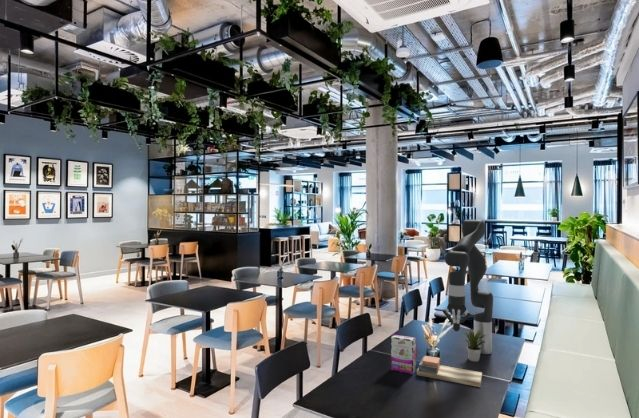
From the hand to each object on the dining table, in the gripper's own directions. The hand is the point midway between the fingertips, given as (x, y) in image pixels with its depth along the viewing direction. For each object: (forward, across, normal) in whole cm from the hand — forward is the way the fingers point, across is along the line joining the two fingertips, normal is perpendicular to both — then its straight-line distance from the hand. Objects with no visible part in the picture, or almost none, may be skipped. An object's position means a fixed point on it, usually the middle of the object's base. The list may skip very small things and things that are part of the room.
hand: (456, 330), depth 186 cm
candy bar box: (+22, +24, +4) cm, 33 cm away
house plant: (+22, -6, -25) cm, 34 cm away
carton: (+20, +11, +1) cm, 23 cm away
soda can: (+22, +23, -5) cm, 32 cm away
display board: (+22, +3, 0) cm, 22 cm away
